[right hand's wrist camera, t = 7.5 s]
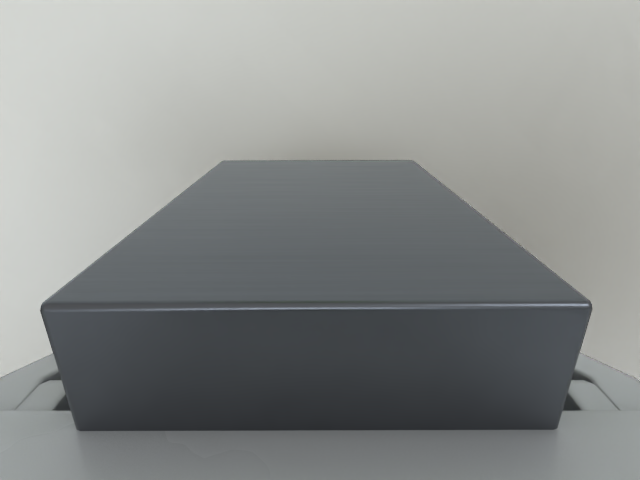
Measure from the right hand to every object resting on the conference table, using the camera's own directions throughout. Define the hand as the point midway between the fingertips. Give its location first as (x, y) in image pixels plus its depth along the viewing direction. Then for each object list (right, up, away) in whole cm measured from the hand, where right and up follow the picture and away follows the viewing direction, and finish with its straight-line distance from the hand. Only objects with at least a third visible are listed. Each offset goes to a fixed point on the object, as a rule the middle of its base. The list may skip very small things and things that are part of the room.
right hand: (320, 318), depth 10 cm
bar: (0, -7, +6) cm, 10 cm away
